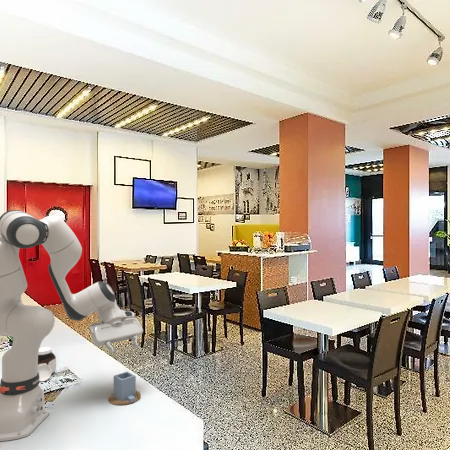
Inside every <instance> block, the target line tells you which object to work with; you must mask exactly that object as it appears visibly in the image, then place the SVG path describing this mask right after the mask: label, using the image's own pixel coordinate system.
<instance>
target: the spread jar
mask: <svg viewBox="0 0 450 450" xmlns="http://www.w3.org/2000/svg"><path fill="white" fill-rule="evenodd" d="M52 349H53V348H52V347H49V346H43V347H41V346H40V348H39V352H38V373H39V377H40V379H39V382H46V381H48V380H49V379H50V378H51V376H53V374H54V373H55V372H56V369H57V357H56V354H55V353H53V352H52Z"/></svg>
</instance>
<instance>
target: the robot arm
mask: <svg viewBox="0 0 450 450" xmlns="http://www.w3.org/2000/svg"><path fill="white" fill-rule="evenodd" d="M39 245H42V247H43V248H44V250H45V251H46V253H48V255H49V258H50V263H49V264H48V265H47V266H48V267H47V268H48V269H47V270H48V273H49V276H50V280H51V281H52V284H53V285H54V288H55V290H56V293H57V294H58V297H59V298H60V301H61V303H62V305H63V309H64V312H65V314H66V316H67V317H68V318H69V320H72V321H75V322H76V321H77V322H81V321H82V320H83V319H85V318H86V317H88V316H90V315H91V314H93V313H95V312H97V314H98V321H99V322H95V323H91V325H89V326H88V330H89V332H90V334H91V338H92V342H93V345H94V347H97V348H98V347H102V346H104V347H105V348H106V349H107V350H108V351H109V352H110V355H113V354H115V353H116V352H117V348H116V347H115V346H112V345H111V344H115V343H119V342H124V341H128V340H131V341H133V343H132V344H131V346H132V349H136V348H138V347H139V344H138V342H137V341H138V338H140V337H141V336H142V335H143V333H144V329H143V326H142V325H141V322H140V321H139V319H138V318H137V317H135V312H133V311H128V310H124V309H121V308H120V306H119V305H118V304H117V299H116V294H115V292H114V290H113V288H112V286H111V284H109V283H108V282H105V281H102V280H101V281H97V282H95V283H93V284H91V285H89V286H88V287H86V288H84V289H82V290H81V291H79V292H77V293H72V291H71V290H70V287H69V285H68V282H67V281H66V276H67V274H68V273H69V272H70V271H71V270H72V269H73V268H74V267H75V266H76V264H77V263H78V262H79V260H80V259H81V256H82V253H83V247H82V244H81V243H80V241H79V239H78V237H77V236H76V234H75V232H74V231H73V230H72V229H71V227H70V226H69V225H68V224H67V222H65V221H64V220H63V219H62V218H61V217H60V216H59V215H53V214H52V215H46V216H45V217H43V218H41V219H37V218H35V217H34V216H32V215H31V214H30V213H28V212H24V211H23V210H19V209H12V210H7V211H5V212H4V213H2V214H1V215H0V336H3V337H12V345H11V346H10V349H8V350H7V351H6V352H4V353H3V355H2V358H1V378H0V442H6V441H13V440H18V439H22V438H26V437H28V436H29V435H31V434H32V433H33V432H34V431H35V430H36V428H38V427H39V425H40V424H41V423H42V422H43V421H44V420H45V419H46V418H47V417H48V416H49V415H50V410H49V409H46V406H45V405H46V404H45V391H44V389H43V388H41V386H40V381H39V379H40V377H39V373H38V352H39V348H41V344H42V342H43V341H44V339H45V338H46V337H47V336H49V334H50V333H51V332H52V331H53V328H54V327H55V314H54V313H53V312H52V310H50V309H47V308H45V307H42V306H39V305H30V304H24V303H23V301H22V295H23V294H24V293H25V292H26V290H27V288H28V282H27V279H26V274H25V272H24V268H23V265H22V263H21V259H20V254H19V253H20V249H22V250H23V249H24V250H25V249H30V248H34V247H36V246H39Z"/></svg>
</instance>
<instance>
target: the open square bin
mask: <svg viewBox="0 0 450 450" xmlns="http://www.w3.org/2000/svg"><path fill="white" fill-rule="evenodd" d="M136 378H137V376H136V375H135V374H133V373H131V372H130V371H124V372H122V373H118V374H116V375H113V393H114V397H115V398H117V399H118V400H120V401H125V400H128V401H129V402H133V401H135V397H136V391H137V389H136V388H137V387H136V386H137V384H136V381H137V380H136Z"/></svg>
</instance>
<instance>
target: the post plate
mask: <svg viewBox="0 0 450 450" xmlns="http://www.w3.org/2000/svg"><path fill="white" fill-rule="evenodd" d="M141 395H142V394H141V392H140V390H139V391H138V390H136V397H135V401H133V402H129V401H128V400H125V401H120V400H118V399H117V398H115V397H114V392H113V393H111V394H110V395H109V396H108V403H110V404H111V405H114V406H127V405H131V404H134V403H137V402H138V401H140V399H141Z"/></svg>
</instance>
